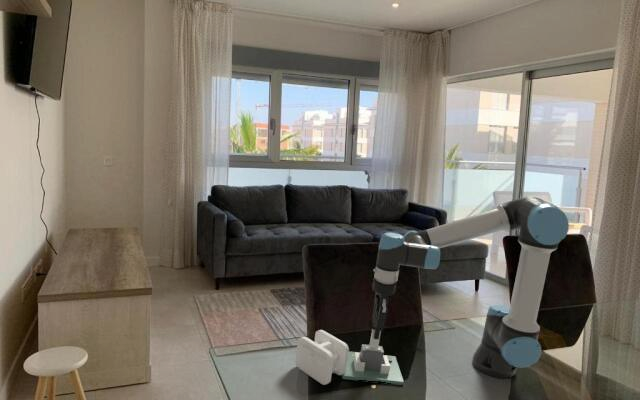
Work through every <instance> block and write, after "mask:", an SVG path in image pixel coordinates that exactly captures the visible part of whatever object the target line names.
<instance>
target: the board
mask: <svg viewBox="0 0 640 400" xmlns="http://www.w3.org/2000/svg"><path fill="white" fill-rule="evenodd" d="M364 367H365V362H361V361H360V351H359V352H357V351H350V350H349V353H348V360H347V366H346V372H345V373H344V374H343V375H341V377H342V378H341V379H342V380H350V381H351V380H352V381H358V380H367V381H366V382H368V381H381V382H386V383H385V384H387V383H391V384H390V385H399V386H404V383H405V380H404V378H403V376H402V373H401V370H400V366H399V363H398V361H397V357H396V356H395V355H388V354H387V355H386V354H385V355H384V354H383V360H382V364H381V370H380V371H373V370H364Z"/></svg>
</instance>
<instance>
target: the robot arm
mask: <svg viewBox="0 0 640 400" xmlns="http://www.w3.org/2000/svg"><path fill="white" fill-rule="evenodd" d="M569 223H570V222H569V219H568V216H567V215H566V213H565V212H564V211H563V210H561V209H560V208H559V207H558V206H557V205H555V204H553V203H550V202H548V201H545V200H543V199H541V198H540V197H536V196H525V197H520V198H517V199H513V200H510V201H506V202H502V203H500V204H498V205H497V206H496V208H494V209H491V210H487V211H484V212H480V213H478V214H477V213H476V214H474V215H471V216H467V217H464V218H461V219H457V220H454V221H451V222H447V223H444V224H441V225H438V226H435V227H432V228H428V229H423V230H420V231H416V230H409V231H407V232H405V234H404V235H402V234H399V233H397V232H396V233H395V232H385V233H382V234H381V236H380V239H379V244H378V249H377V250H378V252H377V256H376V257H377V258H376V262H375V263H376V264H375V268H373V272H374V276H373V277H374V278H373V279H372V280H373V281H372V285H371V287H372V291H373V292H375V293H374V306H373V313H372V320H371V322H372V326H371V334H370V335H371V336H370V340H369V341H370V342H369V345H370V347H378V346H380V345H379V344H380V341H381V340H380V339H381V333H382V332H383V331H384V329H385V323H386V318H387V316H388V312H389V310H390V309H389V306H388V305H389V303H390V299H389V296H392V295H394V294H395V293H396V289H397V282H398V278H399V274H400V273H399V272H400V266H405V267H412V268H414V267H415V268H419V269H425V270H427V269H428V270H436V269H437V268H438V267H439V265H440V261H441V250H440V249H442V248H445V247H449V246H452V245H457V244H459V243H463V242H466V241H469V240H470V241H471V240H473V239H477V238H479V237H482V236H487V235H491V234H494V233H497V232H501V231H505V232H511V231H514V230H519V233H518V238H517V242H518V243H519V244H520V246H521V250H520V254H519V259H518V261H519V262H518V265H517V270H516V275H515V281H514V285H513V288H512V289H513V290H512V294H511V295H512V296H511V300H510V304H509V306H506V305H501V304H500V305H499V304H494V305H491V306H489V307H488V311H487V312H486V317H485V322H484V323H485V324H484V328H483V333H482V337H481V342H480V344H479V345H478V347H477V348H476V350H475V352H474V353H473V356H472V359H471V361H472V362H471V363H472V365H473V366H474V367H475V368H476V369H477V370H478V371H480V372H482V374H483V373H484V374H486V375H487V376H490V377H494V378H497V377H499V378H498V379H509V378H508V377H511V378H513V377H514V376H515V375H516V372H517V368H529V367H530V366H532V365H535V364H536V363H537V362H538V361H539V359H540V358H541V356H542V347H541V344H540V342H539V341H538V339H539V336H540V335H539V334H540V330H541V327H540V325H539V324H538V322H537V319H538V314H539V310H540V309H539V308H540V305H541V301H542V297H543V290H544V286H545V281H546V275H547V272H548V267H549V263H550V257H551V254H552V252H554V251H556V250H557V249H558V248H559V247H558V246H559V243H560V242H561V241H562V240H564V239H565V238H566V236H567V234H568V232H569V227H570V225H569ZM514 374H515V375H514ZM513 375H514V376H513ZM512 376H513V377H512Z"/></svg>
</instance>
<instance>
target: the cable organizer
mask: <svg viewBox="0 0 640 400" xmlns="http://www.w3.org/2000/svg"><path fill="white" fill-rule="evenodd" d="M349 351H350V348H349V345H348V343H346V342H345V341H342V340H341V339H339V338H337V337H336V336H334V335H332V334H331V333H329V332H327V331H325V330H323V329H319V330H317V331H315V333H314V341H313V340H312V339H310V338H309V337H307V336H302V337H299V338H298V339H297V345H296V351H295V352H296V353H295V359H294V360H295V361H294V362H295V366H296V367H297V369H299V370H300V371H302V372H304V373H305V374H306V375H308V377H311V378H312V379H313V380H315V381H316V382H318V384H319V383H320V384H321V385H323V386H325V385H328V384H330V383H331V381H332V374H336V375H338V376H342V375H343V374H344V373H345V372H346V366H347V360H348V353H349Z"/></svg>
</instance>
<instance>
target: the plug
mask: <svg viewBox="0 0 640 400" xmlns="http://www.w3.org/2000/svg"><path fill="white" fill-rule="evenodd" d="M359 353H360V361H361V362H365V367H364V370H373V371H380V370H381V364H382V360H383V355H384V354H385V351H384V348H383V345H382V346H381V345H379V346H378V347H370V344H363V343H362V344H361V347H360V351H359Z"/></svg>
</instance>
